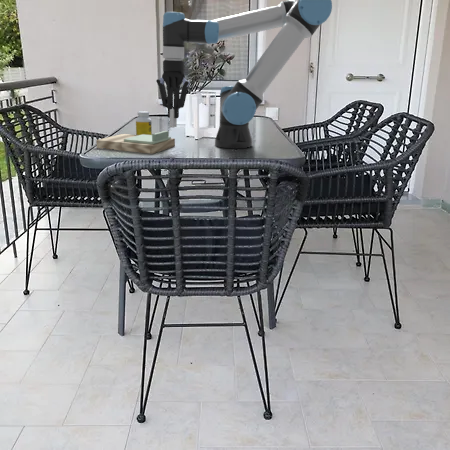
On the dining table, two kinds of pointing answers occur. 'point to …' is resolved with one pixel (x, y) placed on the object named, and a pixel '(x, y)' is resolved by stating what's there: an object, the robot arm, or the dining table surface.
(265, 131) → the dining table surface
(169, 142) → the board
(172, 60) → the robot arm
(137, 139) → the cover
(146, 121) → the pill bottle
